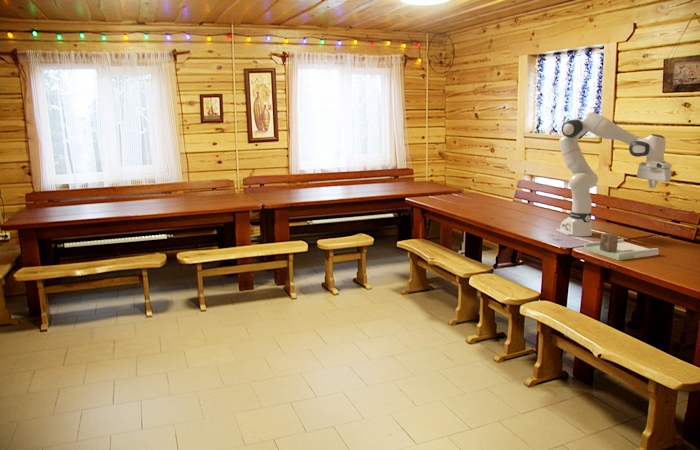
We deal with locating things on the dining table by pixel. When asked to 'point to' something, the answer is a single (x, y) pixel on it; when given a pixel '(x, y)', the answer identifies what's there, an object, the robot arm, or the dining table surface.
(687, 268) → the dining table surface
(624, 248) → the board
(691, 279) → the dining table surface
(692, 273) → the dining table surface
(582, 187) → the robot arm
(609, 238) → the walnut block
